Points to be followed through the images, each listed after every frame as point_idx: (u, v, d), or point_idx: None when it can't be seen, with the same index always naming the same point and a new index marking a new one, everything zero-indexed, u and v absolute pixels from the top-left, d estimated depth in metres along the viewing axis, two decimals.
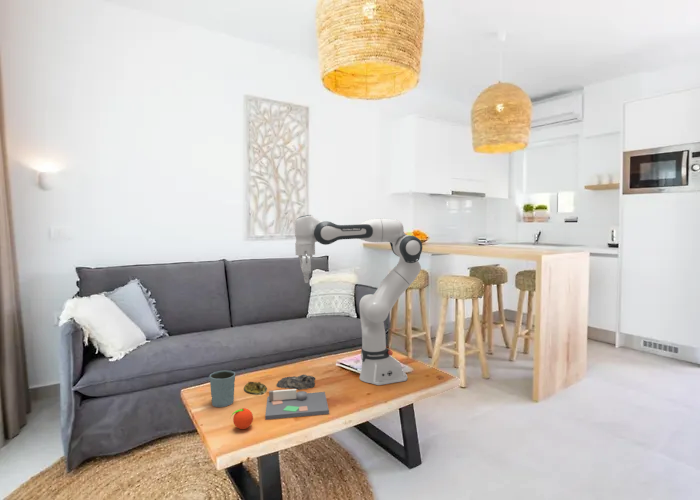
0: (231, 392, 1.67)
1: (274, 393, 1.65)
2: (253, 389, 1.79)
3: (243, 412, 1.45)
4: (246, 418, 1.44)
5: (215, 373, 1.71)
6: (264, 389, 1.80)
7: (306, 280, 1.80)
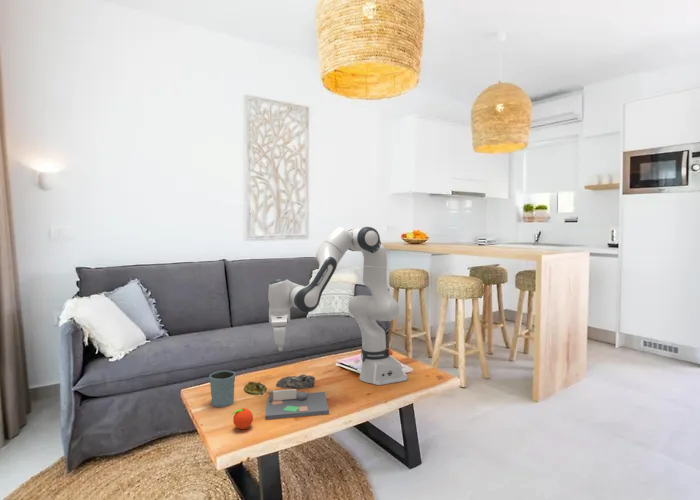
0: (231, 392, 1.67)
1: (274, 393, 1.65)
2: (253, 389, 1.79)
3: (243, 412, 1.45)
4: (246, 418, 1.44)
5: (215, 373, 1.71)
6: (264, 389, 1.80)
7: None
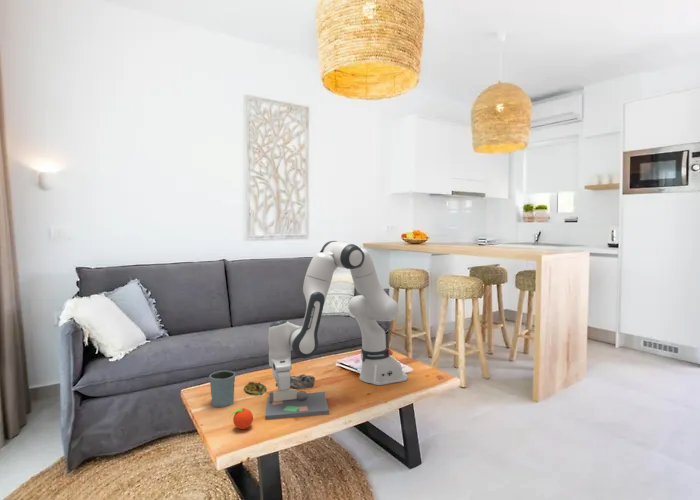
0: (231, 392, 1.67)
1: (274, 394, 1.65)
2: (253, 389, 1.79)
3: (243, 412, 1.45)
4: (246, 418, 1.44)
5: (215, 373, 1.71)
6: (264, 390, 1.79)
7: None
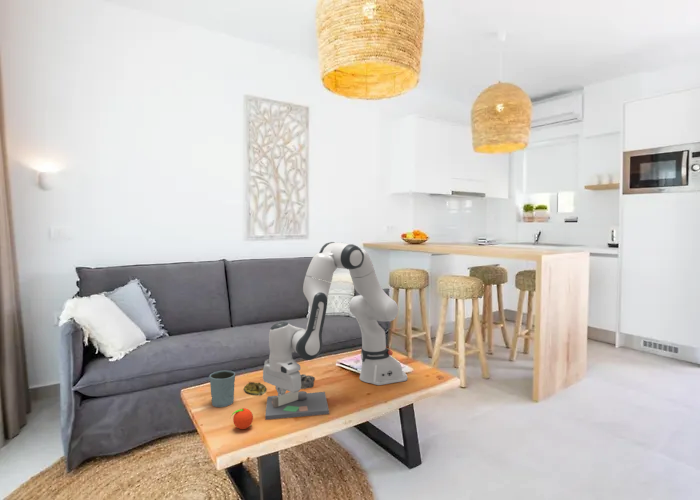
0: (231, 392, 1.67)
1: (279, 398, 1.60)
2: (252, 390, 1.78)
3: (243, 412, 1.45)
4: (246, 418, 1.44)
5: (215, 373, 1.71)
6: (263, 390, 1.79)
7: None
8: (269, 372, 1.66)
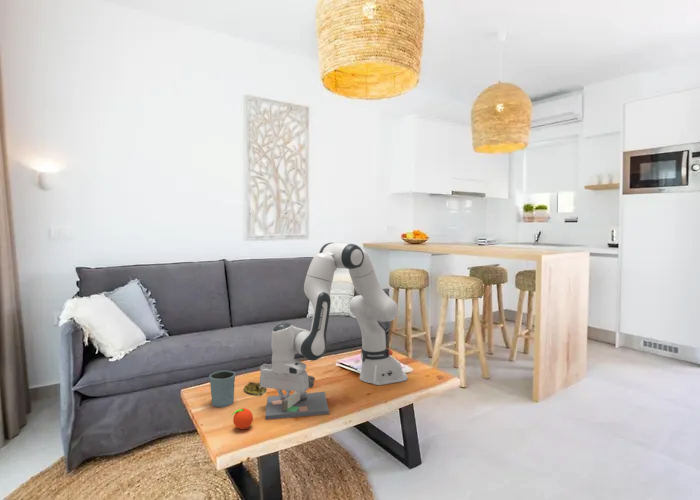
0: (231, 392, 1.67)
1: (288, 401, 1.58)
2: (252, 390, 1.78)
3: (243, 412, 1.45)
4: (246, 418, 1.44)
5: (215, 373, 1.71)
6: (263, 390, 1.79)
7: None
8: (268, 376, 1.61)
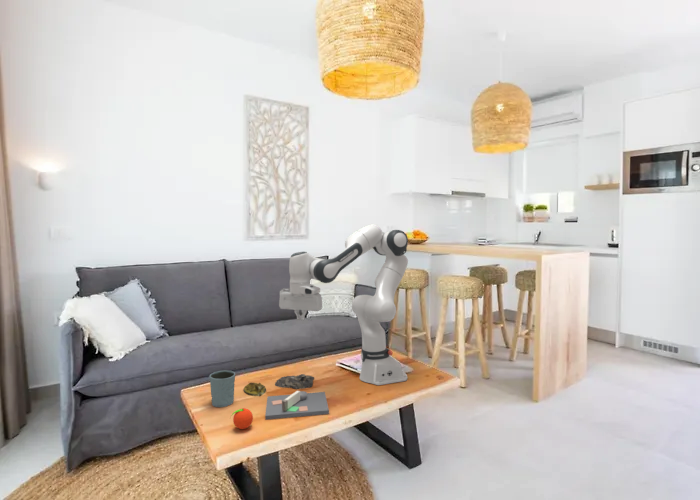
0: (231, 392, 1.67)
1: (288, 401, 1.58)
2: (252, 390, 1.78)
3: (243, 412, 1.45)
4: (246, 418, 1.44)
5: (215, 373, 1.71)
6: (263, 390, 1.78)
7: None
8: (287, 298, 1.81)
